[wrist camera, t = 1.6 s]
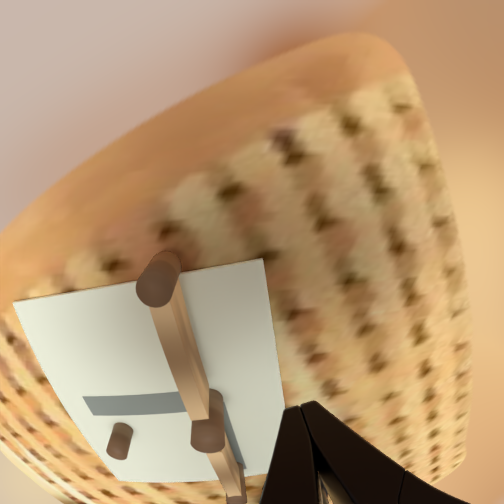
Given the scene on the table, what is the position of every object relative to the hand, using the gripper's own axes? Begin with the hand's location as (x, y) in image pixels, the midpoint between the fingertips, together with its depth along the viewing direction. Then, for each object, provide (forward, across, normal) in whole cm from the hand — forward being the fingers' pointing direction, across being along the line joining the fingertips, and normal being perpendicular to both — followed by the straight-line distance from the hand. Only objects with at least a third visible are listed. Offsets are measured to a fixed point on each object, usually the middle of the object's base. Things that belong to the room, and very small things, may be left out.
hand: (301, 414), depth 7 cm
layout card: (+10, +9, +8) cm, 16 cm away
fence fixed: (+10, +9, +11) cm, 18 cm away
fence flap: (+9, +5, +1) cm, 11 cm away
